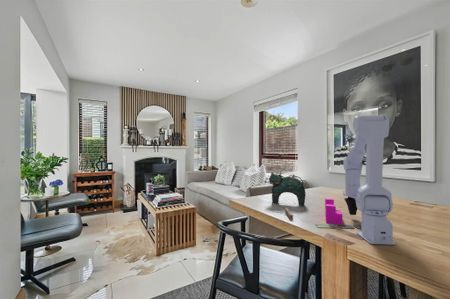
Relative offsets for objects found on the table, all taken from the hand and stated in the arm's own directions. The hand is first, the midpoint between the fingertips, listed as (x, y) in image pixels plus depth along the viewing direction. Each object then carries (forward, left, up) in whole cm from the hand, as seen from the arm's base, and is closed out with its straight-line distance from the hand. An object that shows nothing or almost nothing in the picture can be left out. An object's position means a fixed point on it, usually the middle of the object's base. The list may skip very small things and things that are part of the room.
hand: (352, 214), depth 99 cm
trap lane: (-3, +14, -2) cm, 14 cm away
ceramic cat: (+25, +24, -2) cm, 35 cm away
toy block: (0, +8, -2) cm, 9 cm away
